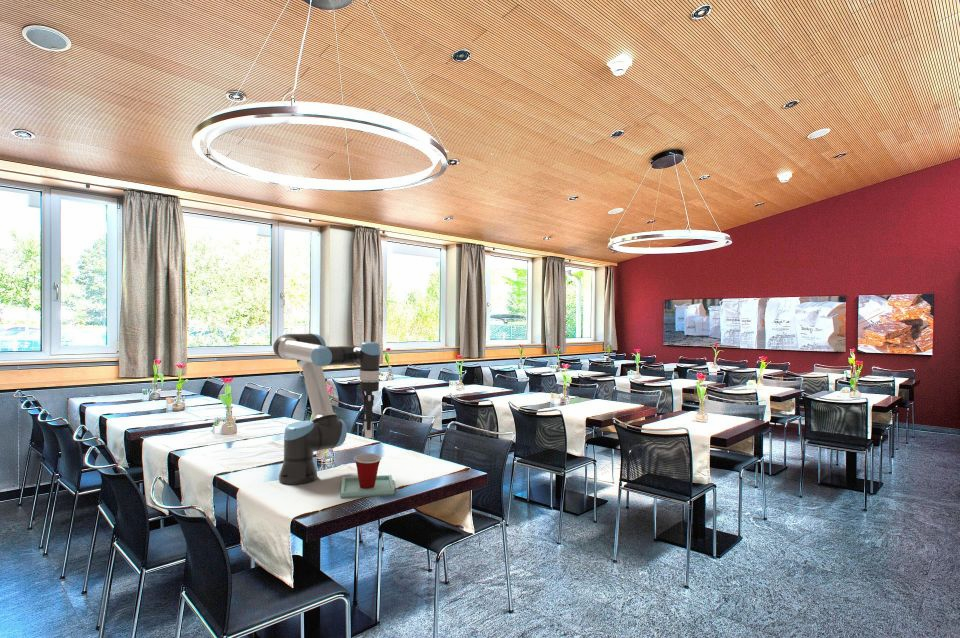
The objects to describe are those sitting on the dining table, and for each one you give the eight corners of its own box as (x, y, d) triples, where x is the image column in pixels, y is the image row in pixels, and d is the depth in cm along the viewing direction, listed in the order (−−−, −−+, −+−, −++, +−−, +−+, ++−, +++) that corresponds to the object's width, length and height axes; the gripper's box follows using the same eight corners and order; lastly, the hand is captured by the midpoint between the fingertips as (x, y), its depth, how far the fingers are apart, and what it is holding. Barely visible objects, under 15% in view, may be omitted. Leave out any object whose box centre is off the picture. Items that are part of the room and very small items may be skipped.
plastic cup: (357, 492, 203) (357, 461, 203) (350, 484, 213) (351, 454, 213) (384, 488, 208) (385, 458, 208) (376, 481, 218) (377, 452, 218)
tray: (340, 498, 198) (340, 492, 198) (342, 482, 218) (342, 477, 218) (394, 495, 203) (394, 489, 203) (391, 479, 222) (391, 474, 222)
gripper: (380, 385, 199) (378, 441, 199) (377, 377, 224) (376, 427, 224) (359, 385, 198) (358, 441, 198) (359, 377, 222) (358, 427, 222)
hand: (368, 434), depth 211 cm, fingers open, 13 cm apart
